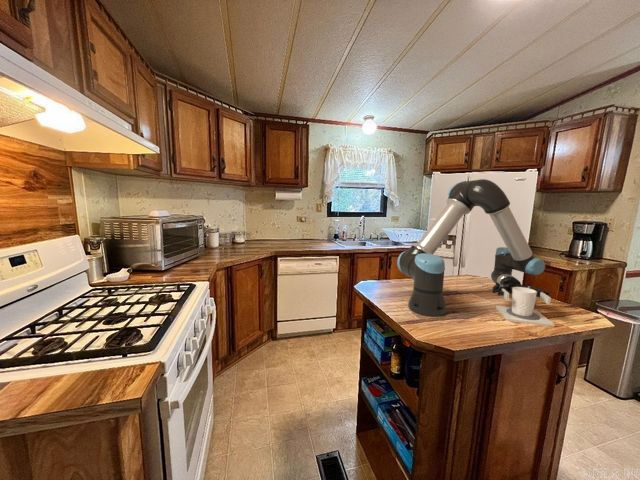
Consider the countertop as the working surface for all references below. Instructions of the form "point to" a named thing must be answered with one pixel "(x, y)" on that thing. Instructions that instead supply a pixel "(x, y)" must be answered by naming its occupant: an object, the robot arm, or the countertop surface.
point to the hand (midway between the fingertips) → (528, 298)
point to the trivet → (524, 317)
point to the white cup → (523, 301)
